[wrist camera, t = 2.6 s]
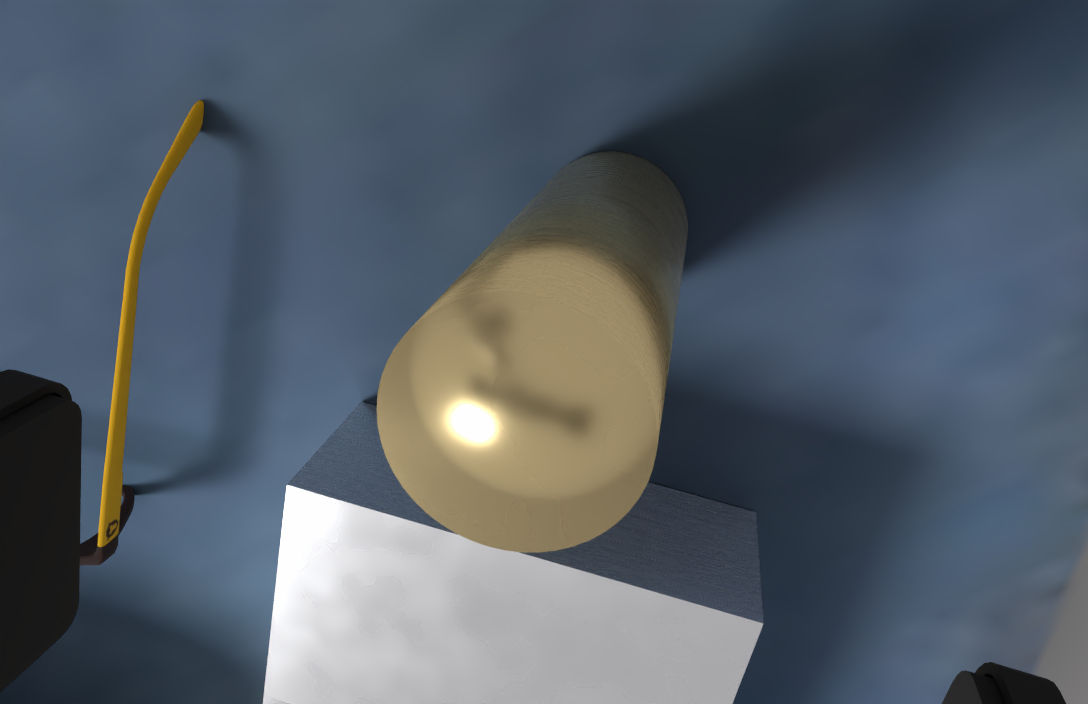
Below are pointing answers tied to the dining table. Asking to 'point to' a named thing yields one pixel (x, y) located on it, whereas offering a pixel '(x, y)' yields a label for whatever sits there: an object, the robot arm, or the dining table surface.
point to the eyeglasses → (112, 489)
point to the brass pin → (545, 364)
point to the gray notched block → (502, 598)
